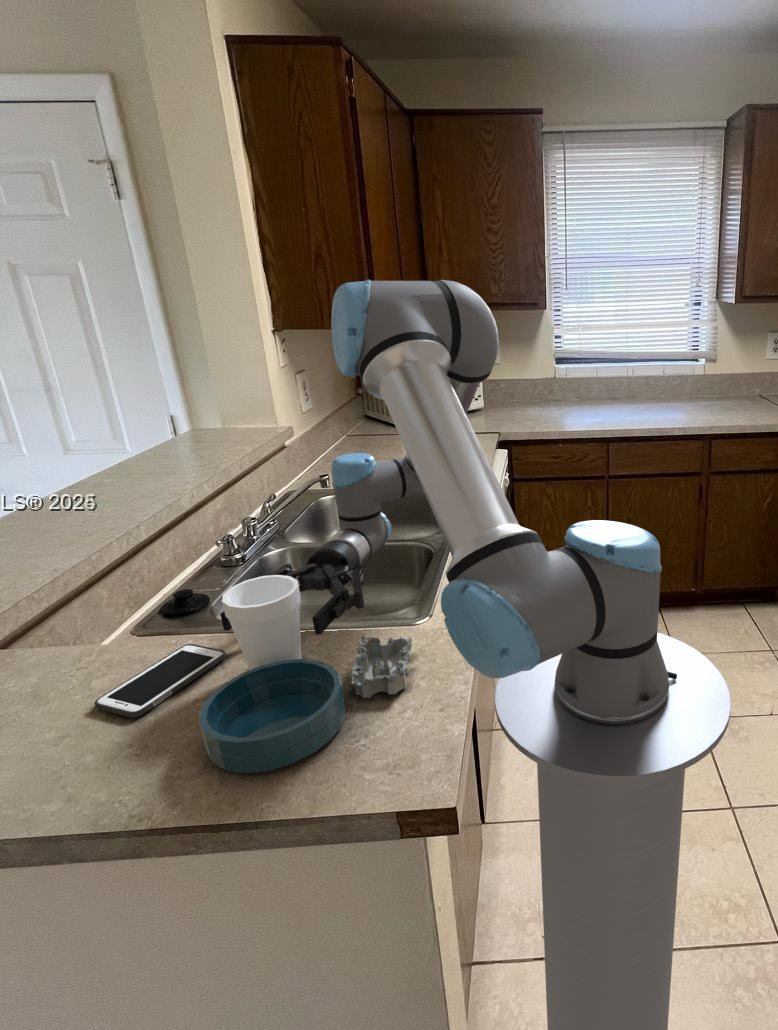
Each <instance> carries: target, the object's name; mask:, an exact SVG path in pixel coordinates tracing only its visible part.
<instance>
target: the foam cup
mask: <svg viewBox="0 0 778 1030" xmlns="http://www.w3.org/2000/svg"><path fill="white" fill-rule="evenodd" d="M299 586H300V584H299V580H298V579H297V578H296V579H294V578H292V577H291V576H284V575H270V576H263V575H260V576H258V577H254V578H250V579H245V580H243V581H242V582H238V583H237V584H235V585H233V586H231V587H230V588H228V589H227V590H226V591H225V592H224V593H223V594H222V599H221V602H222V607H223V611H224V612H225V616H226V617H227V618H228V619H229V621H230V624H231V626H232V628H231V630H232V631H233V633H234V635H235V638H236V640H237V643H238V645H239V647H240V650H241V652H242V655H243V658H244V661H245V662H246V664H247V666H248V667H247V668H248V669H249V670H251V669H254V668H256V667H259V666H261V665H266V664H270V663H274V662H278V661H283V660H294V659H302V643H301V613H300V611H301V609H300V608H301V607H300V604H301V602H302V599H301V597H302V596H301V592H300V591H299Z"/></svg>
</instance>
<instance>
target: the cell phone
mask: <svg viewBox="0 0 778 1030" xmlns="http://www.w3.org/2000/svg"><path fill="white" fill-rule="evenodd" d="M226 657H227V654H226V651H225V650H222V649H218V648H214V647H210V646H209V647H208V646H203V645H199V644H195V643H188V644H184V645H183V646H181V647H179V648H177V649H176V650H174V651H172V652H171V653H169V654H168V655H166V656H164V657H163V658H161V659H159V660H157V661H156V662H155V663H153V664H151V665H150V666H148V667H147V668H145V669H143V670H142V671H140V672H138V673H136V674H135V675H133V676H132V677H130V678H128V679H126V681H123V682H122V683H120V684H119V685H117V686H115V687H114V688H112V689H111V690H110V691H107V692H106V693H105V694H102V695H101V696H100V697H98V698H97V699H96V700H95V701H94V706H95V708H96V709H97V710H101V711H103V712H108V713H111V714H115V715H119V716H123V717H126V718H131V719H135V718H139V717H141V716H143V715H144V714H146V713H147V712H149V711H150V710H152V709H153V708H155V706H157V705H158V704H160V703H161V702H163V701H165V700H166V699H167V698H169V697H170V696H172V695H174V694H175V693H176V692H179V691H180V690H181V689H182V688H185V686H187V685H188V684H190V683H191V682H193V681H194V680H195V679H197V678H199V677H200V676H201V675H203V674H205V673H206V672H207V671H209V670H210V669H212V668H213V667H215V666H216V665H218V664H219V663H220V662H222V661H224V659H225V658H226Z"/></svg>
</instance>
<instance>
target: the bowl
mask: <svg viewBox="0 0 778 1030" xmlns="http://www.w3.org/2000/svg"><path fill="white" fill-rule="evenodd" d="M340 675H341V674H340V673H339V672H338V671H337V670H336V669H335V668H334V667H333V665H330V664H328V663H325V662H323V661H320V660H317V659H316V660H315V659H308V658H307V659H306V658H301V659H294V660H283V661H278V662H274V663H270V664H266V665H261V666H259V667H256V668H254V669H251V670H250V669H249V670H246V671H244V672H242V673H240V674H237V675H236V676H234V677H232V678H231V679H229V680H228V681H226V682H224V683H223V684H222V685H220V686H219V687H218V688H217V689H216V690H215V691H214V692H212V693H211V694H210V695H209V696H208V698H207V699H206V700H205V702H204V704H203V705H202V707H201V708H200V710H199V716H198V717H199V719H198V726H199V728H200V731H201V736H202V740H203V743H204V747H205V751H206V753H207V755H208V757H209V759H210V761H211V762H212V764H214V765H215V766H217V767H219V768H220V769H223V770H224V771H227V772H233V773H240V774H253V773H254V774H255V773H263V772H270V771H273V770H277V769H280V768H281V769H282V768H284V767H287V766H290V765H292V764H294V763H297V762H299V761H301V760H304V759H305V758H307V757H308V756H310V755H313V754H315V753H316V752H317V751H319V750H320V749H321V748H323V747H324V746H325V745H327V743H328V742H330V741H331V740H332V739H333V738H334V737H335V735H336V734H337V733H338V732H339V730H340V729H341V727H342V726H343V724H344V721H345V718H346V714H347V710H346V709H347V708H346V703H345V698H344V693H343V685H342V680H341V676H340Z"/></svg>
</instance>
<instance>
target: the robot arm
mask: <svg viewBox="0 0 778 1030" xmlns="http://www.w3.org/2000/svg"><path fill="white" fill-rule="evenodd" d="M330 318H331V322H330V323H331V324H330V325H331V339H332V347H333V354H334V358H335V362H336V365H337V366H336V367H337V368H338V370H339V372H340V373H341V374H342V375H343V376H346V377H350V378H351V379H353V378H355V377H356V376H359V377H360V378H361V381H362V384H363V385H364V388H365V389H366V392H368V393H369V395H371V396H372V397H373V398H377V399H379V400H383V401H384V404H385V406H386V409H387V410H388V413H389V415H390V417H391V419H392V421H393V424H394V426H395V429H396V431H397V433H398V436H399V437H400V440H401V443H402V444H403V447H404V449H405V452H406V454H405V456H402V457H397V458H392V459H386V460H381V461H375V458H374V456H373V455H372V454H370V453H366V452H355V453H351V452H350V453H345V454H342V455H339V456H337V457H335V458H334V459H333V460H332V461H331V466H330V467H331V478H332V483H331V485H332V487H333V492H334V497H335V504H336V510H337V516H338V525H339V530H337V532H335V533H334V534H333V535H332V536H331V537H329V538H328V539H327V540H326V541H325V542H323V544H322V545H320V546H318V548H317V549H315V550H314V551H312V553H311V555H310V556H309V558H308V560H307V563H306V564H305V565H303V566H301V567H298V568H292V567H293V566H292V564H291V563H286V564H284V565H282V566H281V567H279V568H277V569H276V570H273V571H270V572H268V573H266V574H264V575H262V576H270V575H284V576H291V577H292V578H294V579H296V580H298V583H299V591H300V593H302V592H305V591H312V590H314V591H315V590H316V591H324V590H327V591H329V593H330V594H331V596H332V597H331V598H330V599H329V600H328V601H326V603H325V604H324V605H323V606H322V607H321V608H320V609H319V610H318V611H317V612H316V613H315V614H314V615H313V616H312V618H311V619H312V625H313V628H314V635H317V636H321V635H322V634H323V633H324V632H325V630H327V628H328V627H329V626H330V625H331V624H332V623H333V621H334V620H337V619H340V618H341V617H342V616H343V615H344V613H346V611H349V610H352V609H351V608H353V607H355V608H356V609H358V610H360V609H363V608H364V607H365V599H364V592H363V585H364V584H365V583H366V576H365V570H364V566H365V565H366V564H367V563H368V562H369V561H370V560H371V559H372V558H373V557H374V556H375V555H376V554H377V553H378V552H379V551H380V550H381V549H383V548H384V546H385V544H386V542H387V541H388V540H389V539H390V537H391V534H392V524H391V521H390V520H389V519H388V517H387V515H386V514H384V513H383V512H382V511H381V510H382V509H381V504H382V503H385V502H389V501H394V500H398V499H403V498H408V497H413V496H416V495H421V494H424V495H425V497H426V499H427V502H428V504H429V506H430V509H431V511H432V513H433V516H434V518H435V521H436V523H437V525H438V527H439V529H440V532H441V534H442V536H443V538H444V540H445V543H446V546H447V548H448V551H449V552H450V555H451V560H450V562H449V565H448V567H447V568H446V571H445V575H446V576H445V577H446V579H447V582H448V583H447V585H445V586H444V588H443V590H442V592H441V597H440V607H441V608H440V609H441V613H442V614H443V615H444V617H445V618H444V619H443V620H444V624H445V628H446V630H447V632H448V634H449V636H450V639H451V640H452V643H453V644H454V646H455V648H456V649H457V651H458V652H459V653H460V655H461V656H462V658H463V659H464V660H465V662H466V663H468V664H469V666H470V667H472V669H473V670H475V671H477V672H478V673H480V674H481V675H483V676H485V677H487V678H490V679H497V680H498V679H499V678H505V677H508V676H510V675H513V674H516V673H518V672H521V671H528V670H531V669H533V668H534V667H536V666H537V665H538V664H540V663H542V662H545V661H547V660H549V659H551V658H554V657H556V656H558V655H560V654H562V655H561V658H560V661H559V664H558V666H557V670H556V675H555V693H556V697H557V699H558V701H559V703H560V704H561V705H562V707H563V708H564V709H565V710H567V711H568V712H569V713H570V714H572V715H574V716H575V717H577V718H579V719H581V720H584V721H586V722H590V723H593V724H598V725H605V726H623V725H630V724H635V723H638V722H641V721H644V720H646V719H649V718H650V717H652V716H654V715H655V714H657V713H658V712H659V711H660V710H661V709H662V708H663V707H664V705H665V704H666V702H667V699H668V695H669V678H672V679H677V674H675V673H672V672H669V671H667V669H666V666H665V663H664V660H663V657H662V653H661V650H660V647H659V644H658V641H657V633H658V629H659V628H658V627H659V613H660V611H659V609H660V595H661V594H660V593H661V591H660V590H661V575H662V571H663V567H662V565H661V547H660V542H659V541H658V539H657V538H656V537H655V535H654V534H652V533H651V532H649V531H648V530H646V529H644V528H641V527H639V526H637V525H634V524H630V523H625V522H620V521H614V520H602V519H601V520H600V519H599V520H598V519H596V520H595V519H593V520H584V521H579V522H576V523H573V524H572V525H569V526H568V529H567V530H566V532H565V536H564V541H565V545H564V546H562V547H559V548H556V549H553V550H549V551H547V550H546V549H547V548H545V545H544V544H543V541H542V540H541V537H540V535H539V534H538V533H537V531H535V530H532V529H529V528H526V527H523V526H521V525H520V523H519V521H518V520H517V518H516V515H515V513H514V511H513V509H512V507H511V505H510V503H509V501H508V499H507V497H506V495H505V493H504V491H503V489H502V486H501V484H500V482H499V480H498V478H497V476H496V474H495V472H494V470H493V467H492V466H491V463H490V461H489V459H488V457H487V455H486V453H485V451H484V449H483V447H482V445H481V443H480V441H479V439H478V437H477V435H476V432H475V430H474V428H473V426H472V424H471V422H470V420H469V417H468V416H467V414H468V412H469V409H470V407H471V405H472V402H473V400H474V398H475V395H476V393H477V390H478V387H479V385H480V384H481V383H483V382H485V381H487V379H488V378H489V377H490V376H491V373H492V372H493V368H494V367H495V364H496V361H497V358H498V354H499V344H500V343H499V331H498V327H497V323H496V320H495V317H494V315H493V313H492V311H491V309H490V307H489V306H488V304H487V303H486V301H484V299H483V298H482V297H481V296H480V295H479V294H478V293H477V292H476V291H474V290H473V289H472V288H470V287H469V286H467V285H464V284H462V283H460V282H457V281H453V280H448V279H447V280H445V279H436V280H371V279H366V280H362V281H350V282H345V283H342V284H341V285H340V286H338V288H337V289H336V290H335V293H334V295H333V299H332V305H331V317H330ZM349 582H351V583H352V588H353V594H350V592H349V588H347V589H346V587H345V585H347V584H348V583H349ZM219 615H220V620H221V624H222V628H223V631H227V632H229V631H230V630H232V626H231V624H230V621H229V619H228V618H227V617H226V616H225V612H224V610H223V611H221V613H219ZM668 677H669V678H668Z"/></svg>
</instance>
